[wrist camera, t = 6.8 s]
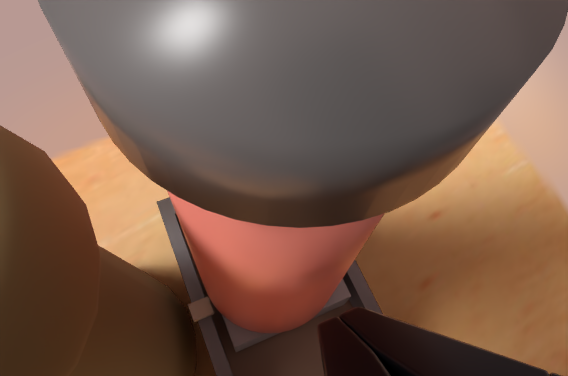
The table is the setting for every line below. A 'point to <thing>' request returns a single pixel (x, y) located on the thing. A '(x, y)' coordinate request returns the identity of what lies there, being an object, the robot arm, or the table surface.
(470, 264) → the table surface
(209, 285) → the plug
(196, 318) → the track
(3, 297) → the olive rounded upright piece
